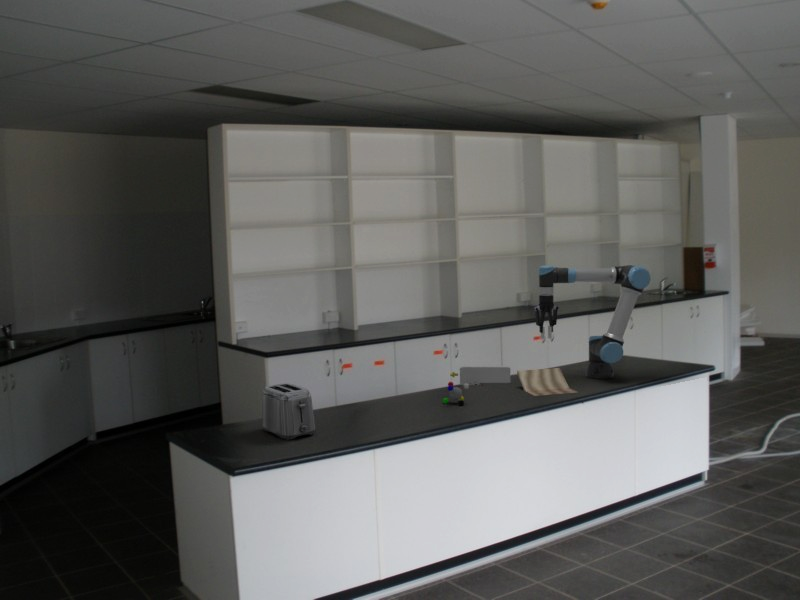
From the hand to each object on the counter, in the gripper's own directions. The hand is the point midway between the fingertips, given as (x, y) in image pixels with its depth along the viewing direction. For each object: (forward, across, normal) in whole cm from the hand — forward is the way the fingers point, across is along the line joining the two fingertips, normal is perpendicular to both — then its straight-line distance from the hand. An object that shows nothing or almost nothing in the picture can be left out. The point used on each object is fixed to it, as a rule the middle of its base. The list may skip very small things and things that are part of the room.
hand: (546, 338), depth 408 cm
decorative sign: (+25, +34, -10) cm, 43 cm away
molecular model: (+25, +60, +27) cm, 70 cm away
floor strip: (+25, +8, +24) cm, 35 cm away
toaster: (+25, +144, +53) cm, 155 cm away
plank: (+20, +8, +13) cm, 25 cm away
